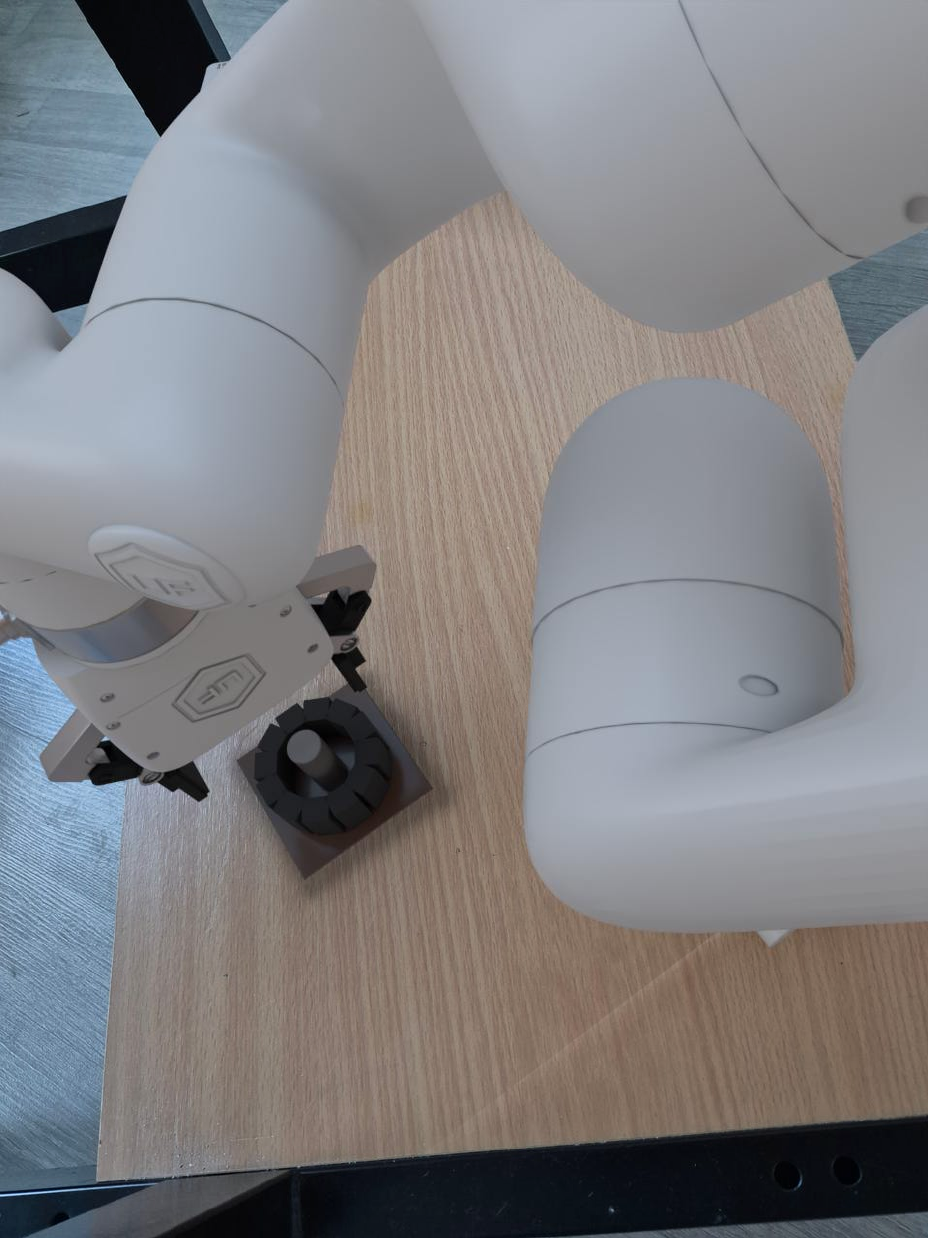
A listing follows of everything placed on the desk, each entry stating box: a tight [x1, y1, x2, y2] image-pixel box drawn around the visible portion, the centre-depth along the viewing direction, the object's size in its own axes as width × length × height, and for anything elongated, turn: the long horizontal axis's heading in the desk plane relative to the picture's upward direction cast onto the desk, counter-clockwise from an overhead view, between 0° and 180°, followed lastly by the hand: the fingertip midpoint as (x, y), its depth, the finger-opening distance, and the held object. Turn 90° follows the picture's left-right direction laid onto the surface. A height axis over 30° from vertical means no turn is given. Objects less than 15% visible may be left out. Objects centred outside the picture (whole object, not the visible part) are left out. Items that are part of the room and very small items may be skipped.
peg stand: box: [236, 683, 434, 880], centre depth 59 cm, size 9×9×6 cm
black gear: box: [254, 696, 392, 836], centre depth 59 cm, size 7×7×3 cm
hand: (272, 722), depth 53 cm, fingers open, 9 cm apart
